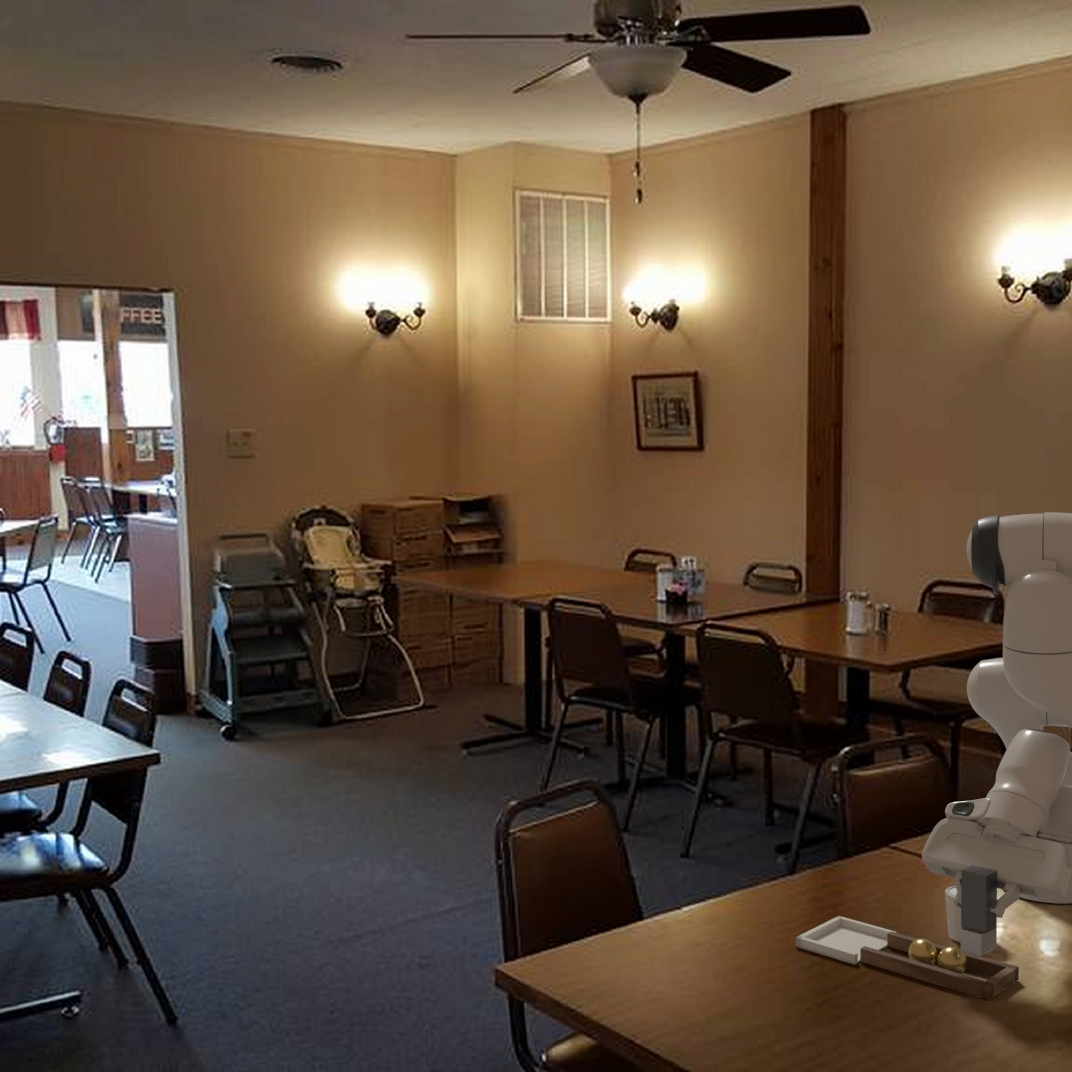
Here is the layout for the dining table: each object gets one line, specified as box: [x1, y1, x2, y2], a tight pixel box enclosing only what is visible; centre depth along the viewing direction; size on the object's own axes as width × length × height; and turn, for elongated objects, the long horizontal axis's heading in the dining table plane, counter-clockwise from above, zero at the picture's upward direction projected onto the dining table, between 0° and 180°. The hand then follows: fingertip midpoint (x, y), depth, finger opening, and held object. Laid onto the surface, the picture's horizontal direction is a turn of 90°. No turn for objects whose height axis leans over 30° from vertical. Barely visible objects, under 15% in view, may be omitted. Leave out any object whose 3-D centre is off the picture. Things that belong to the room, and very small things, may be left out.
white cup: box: [944, 885, 962, 943], centre depth 199 cm, size 7×7×7 cm
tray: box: [795, 915, 898, 966], centre depth 197 cm, size 12×10×2 cm
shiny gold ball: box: [907, 938, 937, 966], centre depth 189 cm, size 4×4×4 cm
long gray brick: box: [960, 865, 998, 957], centre depth 181 cm, size 4×4×11 cm
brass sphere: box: [936, 946, 967, 975], centre depth 185 cm, size 4×4×4 cm
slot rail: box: [859, 930, 1020, 1001], centre depth 187 cm, size 9×20×2 cm, turn 46°
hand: (977, 910), depth 180 cm, fingers closed on long gray brick, 4 cm apart
